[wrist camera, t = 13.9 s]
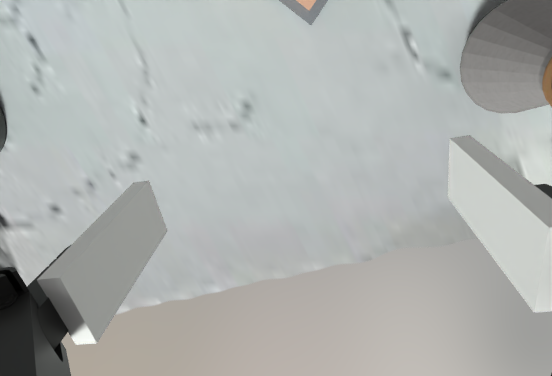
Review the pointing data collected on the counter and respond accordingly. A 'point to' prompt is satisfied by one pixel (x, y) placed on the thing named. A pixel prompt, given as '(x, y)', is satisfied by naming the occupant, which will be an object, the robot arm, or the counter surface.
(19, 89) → the counter surface
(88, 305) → the robot arm
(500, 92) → the coffee pot
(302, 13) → the docking cradle
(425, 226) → the counter surface
